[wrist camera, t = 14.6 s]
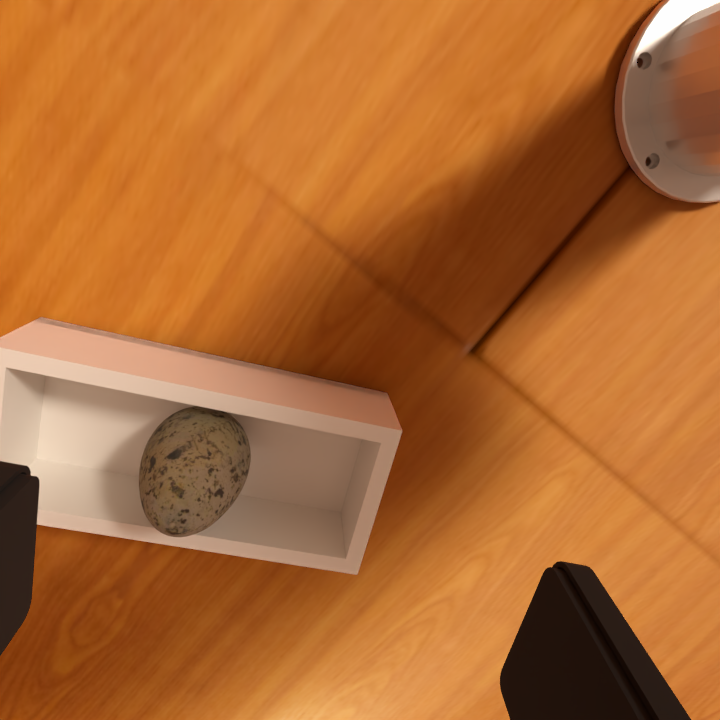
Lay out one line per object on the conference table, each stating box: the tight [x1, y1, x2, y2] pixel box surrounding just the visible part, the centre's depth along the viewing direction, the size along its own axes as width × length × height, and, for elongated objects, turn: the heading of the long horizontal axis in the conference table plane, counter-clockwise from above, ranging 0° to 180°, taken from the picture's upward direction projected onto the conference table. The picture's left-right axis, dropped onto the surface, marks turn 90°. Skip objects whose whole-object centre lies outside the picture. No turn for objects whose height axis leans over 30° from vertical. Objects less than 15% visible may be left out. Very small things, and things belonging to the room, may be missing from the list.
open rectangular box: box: [0, 317, 402, 575], centre depth 33 cm, size 22×10×6 cm, turn 75°
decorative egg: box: [139, 406, 251, 537], centre depth 30 cm, size 6×6×10 cm
